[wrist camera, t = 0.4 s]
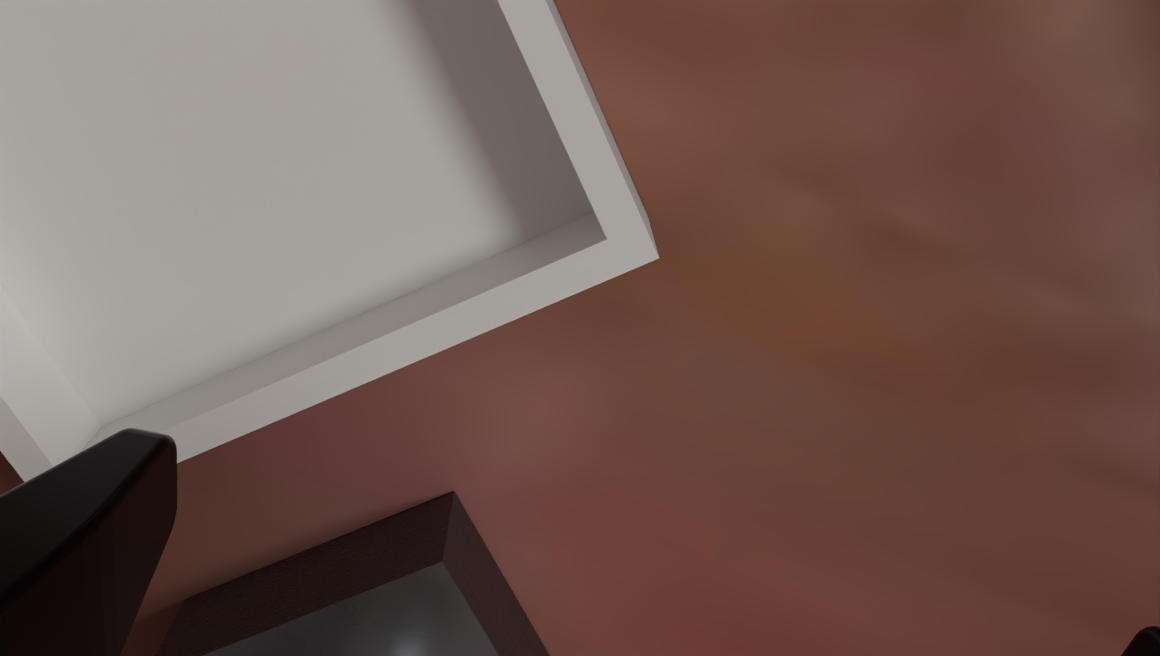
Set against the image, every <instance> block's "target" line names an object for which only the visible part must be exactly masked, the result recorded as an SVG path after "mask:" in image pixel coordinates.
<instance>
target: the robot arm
mask: <svg viewBox="0 0 1160 656" xmlns="http://www.w3.org/2000/svg"><path fill="white" fill-rule="evenodd" d="M176 510H177V447H176V444H175V440H174V439H173V438H172V437H171V436H169V435H167V434H162V433H157V432H152V431H147V430H141V429H136V428H127V429H123V430H121V431H119V432H117V433H115V434H113V435H111V436H109V437H108V438H106V439H104V440H102V441H100V442H98V443H96V444H95V445H93V446H91V447H89V448H87V449H85V450H84V451H82V452H80V453H78V454H76V455H74V456H72V457H71V458H69V459H67V460H65V461H63V462H61V463H60V464H58V465H56V466H54V467H52V468H50V469H48V470H47V471H45V472H43V473H41V474H39V475H37V476H36V477H34V478H32V479H30V480H28V481H26V482H24V483H23V484H21V485H19V486H17V487H15V488H13V489H12V490H10V491H8V492H6V493H4V494H2V495H0V656H120V654H121V651H122V649H123V646H124V644H125V642H126V639H127V637H128V634H129V632H130V630H131V627H132V625H133V622H134V620H135V618H136V615H137V613H138V610H139V608H140V605H141V603H142V601H143V598H144V596H145V593H146V591H147V589H148V586H149V584H150V581H151V579H152V577H153V574H154V572H155V569H156V567H157V565H158V562H159V560H160V557H161V555H162V552H163V550H164V548H165V545H166V543H167V540H168V538H169V536H170V533H171V530H172V528H173V524H174V521H175V516H176ZM1121 656H1160V627H1156V626H1151V627H1146V628H1144V629H1142V630H1141V631H1139V632H1138V633H1137V634H1136V635H1135V637H1134V638H1133V639H1132V641H1131V642H1130V644H1129V645H1128V647H1127V648H1126V649H1125V651H1124V652H1123V654H1122V655H1121Z"/></svg>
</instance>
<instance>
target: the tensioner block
mask: <svg viewBox="0 0 1160 656" xmlns="http://www.w3.org/2000/svg"><path fill="white" fill-rule="evenodd" d="M156 656H549V654H548V652H547V651H546V649H545V647H544V645H543V644H542V642H541V640H540V638H539V637H538V635H537V633H536V632H535V630H534V628H533V626H532V625H531V623H530V621H529V619H528V618H527V616H526V614H525V613H524V611H523V609H522V607H521V606H520V604H519V602H518V600H517V599H516V597H515V595H514V594H513V592H512V590H511V588H510V587H509V585H508V583H507V581H506V580H505V578H504V576H503V575H502V573H501V571H500V569H499V568H498V566H497V564H496V562H495V561H494V559H493V557H492V556H491V554H490V552H489V550H488V549H487V547H486V545H485V543H484V542H483V540H482V538H481V537H480V535H479V533H478V531H477V530H476V528H475V526H474V524H473V523H472V521H471V519H470V518H469V516H468V514H467V512H466V511H465V509H464V507H463V505H462V504H461V502H460V500H459V499H458V497H457V495H456V493H455V492H452V493H449V494H447V495H444V496H442V497H439V498H437V499H434V500H432V501H429V502H427V503H424V504H422V505H419V506H417V507H414V508H412V509H409V510H407V511H404V512H402V513H399V514H397V515H394V516H392V517H390V518H387V519H385V520H382V521H380V522H377V523H375V524H372V525H370V526H367V527H365V528H362V529H360V530H357V531H355V532H352V533H350V534H347V535H345V536H342V537H340V538H337V539H335V540H332V541H330V542H327V543H325V544H323V545H320V546H318V547H315V548H313V549H310V550H308V551H305V552H303V553H300V554H298V555H295V556H293V557H290V558H288V559H285V560H283V561H280V562H278V563H275V564H273V565H270V566H268V567H265V568H263V569H260V570H258V571H256V572H253V573H251V574H248V575H246V576H243V577H241V578H238V579H236V580H233V581H231V582H228V583H226V584H223V585H221V586H218V587H216V588H213V589H211V590H208V591H206V592H203V593H201V594H198V595H196V596H194V597H191V598H189V599H186V600H185V601H184V603H183V605H182V607H181V609H180V610H179V612H178V614H177V616H176V618H175V620H174V622H173V624H172V626H171V628H170V629H169V631H168V633H167V635H166V637H165V639H164V641H163V643H162V645H161V646H160V648H159V650H158V652H157V654H156Z"/></svg>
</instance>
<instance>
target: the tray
mask: <svg viewBox="0 0 1160 656" xmlns="http://www.w3.org/2000/svg"><path fill="white" fill-rule="evenodd" d="M658 258H659V256H658V252H657V248H656V245H655V241H654V238H653V234H652V230H651V227H650V223H649V220H648V216H647V214H646V211H645V209H644V207H643V204H642V202H641V200H640V198H639V195H638V193H637V191H636V188H635V186H634V184H633V182H632V179H631V177H630V175H629V172H628V170H627V168H626V166H625V163H624V161H623V159H622V157H621V154H620V152H619V150H618V147H617V145H616V143H615V141H614V138H613V136H612V134H611V131H610V129H609V127H608V125H607V122H606V120H605V118H604V115H603V113H602V111H601V109H600V106H599V104H598V102H597V99H596V97H595V95H594V93H593V90H592V88H591V86H590V83H589V81H588V79H587V77H586V74H585V72H584V70H583V68H582V65H581V63H580V61H579V58H578V56H577V54H576V52H575V49H574V47H573V45H572V42H571V40H570V38H569V36H568V33H567V31H566V29H565V26H564V24H563V22H562V20H561V17H560V15H559V13H558V10H557V8H556V6H555V4H554V1H553V0H0V451H1V452H2V453H3V455H4V456H5V457H6V459H7V460H8V461H9V463H10V464H11V465H12V466H13V468H14V469H15V470H16V472H17V473H18V474H19V476H20V477H21V478H22V479H23V481H24V482H26V481H28V480H30V479H32V478H34V477H36V476H37V475H39V474H41V473H43V472H45V471H47V470H48V469H50V468H52V467H54V466H56V465H58V464H60V463H61V462H63V461H65V460H67V459H69V458H71V457H72V456H74V455H76V454H78V453H80V452H82V451H84V450H85V449H87V448H89V447H91V446H93V445H95V444H96V443H98V442H100V441H102V440H104V439H106V438H108V437H109V436H111V435H113V434H115V433H117V432H119V431H121V430H123V429H127V428H136V429H141V430H147V431H152V432H157V433H162V434H167V435H169V436H171V437H172V438H173V439H174V440H175V444H176V447H177V463H179V462H181V461H184V460H186V459H188V458H191V457H193V456H195V455H198V454H200V453H202V452H205V451H207V450H210V449H212V448H214V447H217V446H219V445H221V444H224V443H226V442H228V441H231V440H233V439H235V438H238V437H240V436H242V435H245V434H247V433H249V432H252V431H254V430H257V429H259V428H261V427H264V426H266V425H268V424H271V423H273V422H275V421H278V420H280V419H282V418H285V417H287V416H289V415H292V414H294V413H296V412H299V411H301V410H304V409H306V408H308V407H311V406H313V405H315V404H318V403H320V402H322V401H325V400H327V399H329V398H332V397H334V396H336V395H339V394H341V393H343V392H346V391H348V390H351V389H353V388H355V387H358V386H360V385H362V384H365V383H367V382H369V381H372V380H374V379H376V378H379V377H381V376H383V375H386V374H388V373H390V372H393V371H395V370H398V369H400V368H402V367H405V366H407V365H409V364H412V363H414V362H416V361H419V360H421V359H423V358H426V357H428V356H430V355H433V354H435V353H438V352H440V351H442V350H445V349H447V348H449V347H452V346H454V345H456V344H459V343H461V342H463V341H466V340H468V339H470V338H473V337H475V336H477V335H480V334H482V333H485V332H487V331H489V330H492V329H494V328H496V327H499V326H501V325H503V324H506V323H508V322H510V321H513V320H515V319H517V318H520V317H522V316H524V315H527V314H529V313H532V312H534V311H536V310H539V309H541V308H543V307H546V306H548V305H550V304H553V303H555V302H557V301H560V300H562V299H564V298H567V297H569V296H571V295H574V294H576V293H579V292H581V291H583V290H586V289H588V288H590V287H593V286H595V285H597V284H600V283H602V282H604V281H607V280H609V279H611V278H614V277H616V276H618V275H621V274H623V273H626V272H628V271H630V270H633V269H635V268H637V267H640V266H642V265H644V264H647V263H649V262H651V261H654V260H656V259H658Z"/></svg>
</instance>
